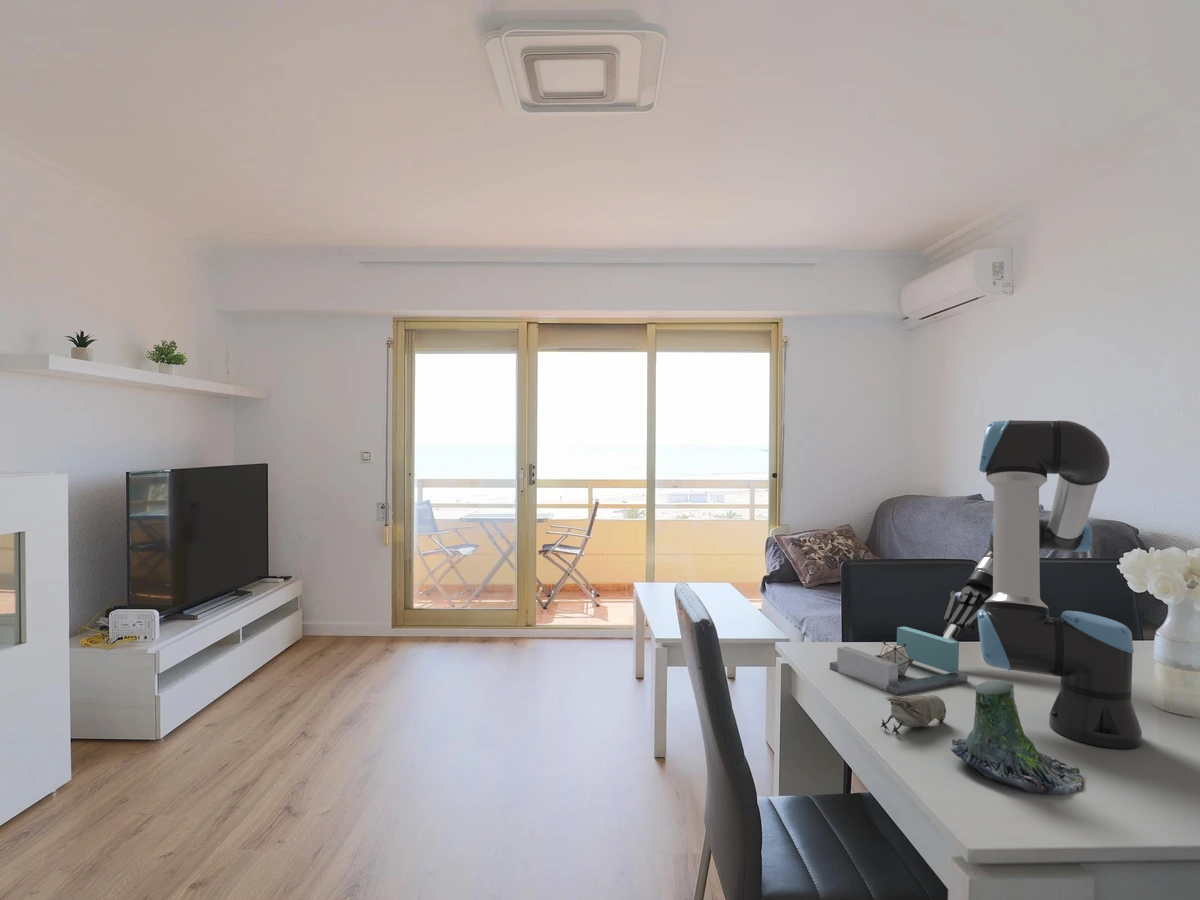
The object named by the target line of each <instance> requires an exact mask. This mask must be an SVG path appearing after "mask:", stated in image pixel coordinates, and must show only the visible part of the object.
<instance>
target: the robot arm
mask: <svg viewBox="0 0 1200 900" xmlns="http://www.w3.org/2000/svg"><path fill="white" fill-rule="evenodd" d="M1109 468H1110V455H1109V451H1108V449H1107V446H1106V445H1105V444H1104V442H1103V441H1102V439H1101V438H1100V437H1099V436H1098V435H1097V434H1096V433H1095V432H1094V431H1092V430H1091V429H1089V428H1088V427H1087V426H1084V425H1082V424H1080V423H1078V422H1074V421H1071V420H1070V421H1069V420H1012V419H1008V420H995V421H994V420H993V421H991V422H989V423H988V424H987V425H986V428H985V431H984V437H983V443H982V450H981V454H980V461H979V468H978V471H979V472H982V473H986V481H987V482H988V483H989V484H990V485H991V486H993V518H992V520H991V525H990V529H989V530H990V531H989V532H990V533H989V534H990V535H989V536H990V537H989V541H988V542H989V545H988V547H987V550H986V551H985V553H984V554H983V555H982V558H981V559H980V560H979V562H978V563H977V565H976V566H975V568H974V571H973V572H972V573H971V574H970V576H969V577H968V578H967V580H966V585H965V587H963V588H962V589H961V591H958V592H955V590H952V591H951V592H950V599H949V603H948V605H947V609H946V612H945V614H944V617H943V620H944V621H945V623H946V624H947V626H946V628H945V629H944V631H943V633H942V634H943V636H942V637H943V638H947V639H950V640H954V641H959V640H960V638H961V637H962V635H963V633H964V632H965V633H966V631H969V632H974V631H975V630H976V629H977V628H978V634H979V643H980V648H981V654H982V659H983V661H984V663H986V665H988V666H989V667H993V668H999V669H1004V670H1007V671H1016V672H1023V673H1030V674H1038V675H1045V676H1046V675H1047V676H1053V677H1060V687H1059V688H1060V689H1059V691H1058V693H1057V695H1056V698H1055V700H1054V703H1053V704H1052V708H1051V710H1050V712H1049V718H1048V719H1049V721H1048V722H1049V724H1048V725H1049V727H1050V729H1052V730H1053V731H1055V732H1056V733H1058V734H1059V735H1061V736H1064V737H1066V738H1069V739H1071V740H1074V741H1076V742H1080V743H1083V744H1088V745H1092V746H1097V747H1101V748H1109V749H1119V750H1120V749H1123V750H1125V749H1127V750H1129V749H1135V748H1139V747H1141V745H1142V743H1143V732H1142V729H1141V725H1140V722H1139V720H1138V717H1137V714H1136V711H1135V708H1134V706H1133V705H1134V704H1133V702H1132V701H1133V700H1132V688H1133V687H1132V684H1133V682H1132V681H1133V680H1132V679H1133V654H1134V653H1135V651H1134V646H1133V645H1134V644H1133V643H1134V641H1133V633H1132V631H1131V629H1129V627H1128V626H1126V625H1125V624H1124V623H1121V622H1119V621H1117V620H1113V619H1111V618H1108V617H1104V616H1101V615H1097V614H1094V613H1093V614H1092V613H1088V612H1085V611H1084V612H1083V611H1076V610H1074V611H1073V610H1065V611H1062V614H1060V617H1054V616H1053V617H1052V616H1050V615H1049V613H1050V612H1049V607H1048V605H1047V604H1045V602H1044V601H1042V599H1041V590H1040V589H1041V582H1040V581H1041V580H1040V577H1041V576H1040V575H1041V573H1040V566H1041V565H1040V550H1049V551H1060V552H1062V551H1063V552H1070V553H1074V552H1075V553H1076V552H1082V553H1083V552H1085V553H1086V552H1088V551H1090V550H1091V549H1092V543H1093V531H1092V529H1093V528H1092V526H1091V524H1090V523H1088V522H1087V521H1088V518H1089V515H1090V511H1091V507H1092V504H1093V501H1094V498H1095V495H1096V492H1097V489H1098V485H1099V483H1101V482H1102V481H1104V479H1105V478H1106V477H1107V474H1108V471H1109ZM1048 474H1049V475H1050V474H1052V475H1057V474H1058V480H1057V484H1056V488H1055V493H1054V499H1053V502H1052V506H1051V511H1050V514H1049V515H1050V516H1049V520H1047V519H1046V520H1045V519H1040V488H1041V487H1042V486H1043V485H1044V484H1046V483H1047V482H1048Z"/></svg>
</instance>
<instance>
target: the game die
mask: <svg viewBox="0 0 1200 900" xmlns="http://www.w3.org/2000/svg"><path fill="white" fill-rule="evenodd" d="M882 641H883V642H882V643H883V648H882V649H881V652H880V653H879V655H880V656H876V657H879V658H881V659H884V660H887V661H890V662H893V663H896V664H898V676H903V679H905V678H907V676H906V672H907V670H908V669H909V668H908V667H909V665H910V664H913V662H915V661H914V660H911V659H910V658H909V656H908V653H907V651H906V649H905V646H906V643H905V644H904V646H900V645H897V644H892V643H891V644H889V643H886V641H885V640H882Z"/></svg>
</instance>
